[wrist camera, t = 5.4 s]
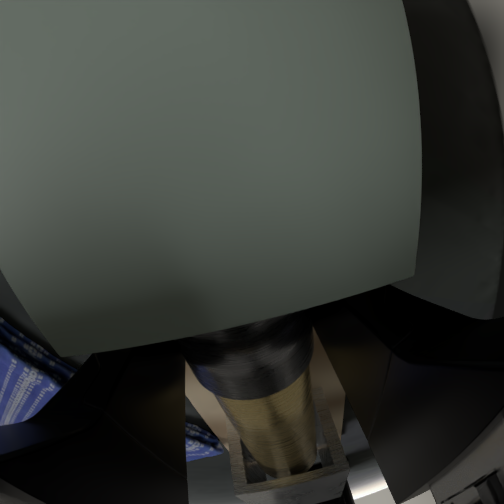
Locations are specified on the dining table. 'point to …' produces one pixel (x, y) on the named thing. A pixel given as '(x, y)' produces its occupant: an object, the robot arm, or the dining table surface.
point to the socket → (202, 162)
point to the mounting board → (320, 377)
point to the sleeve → (298, 486)
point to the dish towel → (57, 387)
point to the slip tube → (263, 386)
